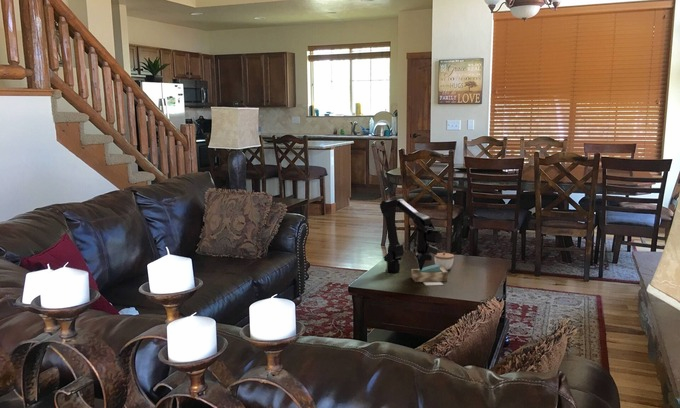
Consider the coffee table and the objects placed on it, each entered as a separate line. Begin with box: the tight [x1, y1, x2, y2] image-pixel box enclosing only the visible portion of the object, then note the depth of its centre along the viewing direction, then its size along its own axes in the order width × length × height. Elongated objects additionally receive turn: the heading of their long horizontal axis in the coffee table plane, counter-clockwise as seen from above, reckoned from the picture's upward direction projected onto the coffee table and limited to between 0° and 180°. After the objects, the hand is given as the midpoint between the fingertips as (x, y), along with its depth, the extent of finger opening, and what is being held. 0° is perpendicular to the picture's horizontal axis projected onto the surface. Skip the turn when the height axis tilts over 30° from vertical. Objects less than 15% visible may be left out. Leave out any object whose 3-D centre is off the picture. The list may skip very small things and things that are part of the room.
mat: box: [422, 281, 444, 287], centre depth 287 cm, size 9×5×1 cm, turn 96°
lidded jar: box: [433, 251, 455, 271], centre depth 316 cm, size 11×11×9 cm
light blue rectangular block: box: [418, 263, 441, 273], centre depth 295 cm, size 10×4×4 cm, turn 96°
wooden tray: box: [410, 267, 449, 283], centre depth 295 cm, size 17×8×5 cm, turn 96°
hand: (420, 269), depth 294 cm, fingers closed, pressing on light blue rectangular block
